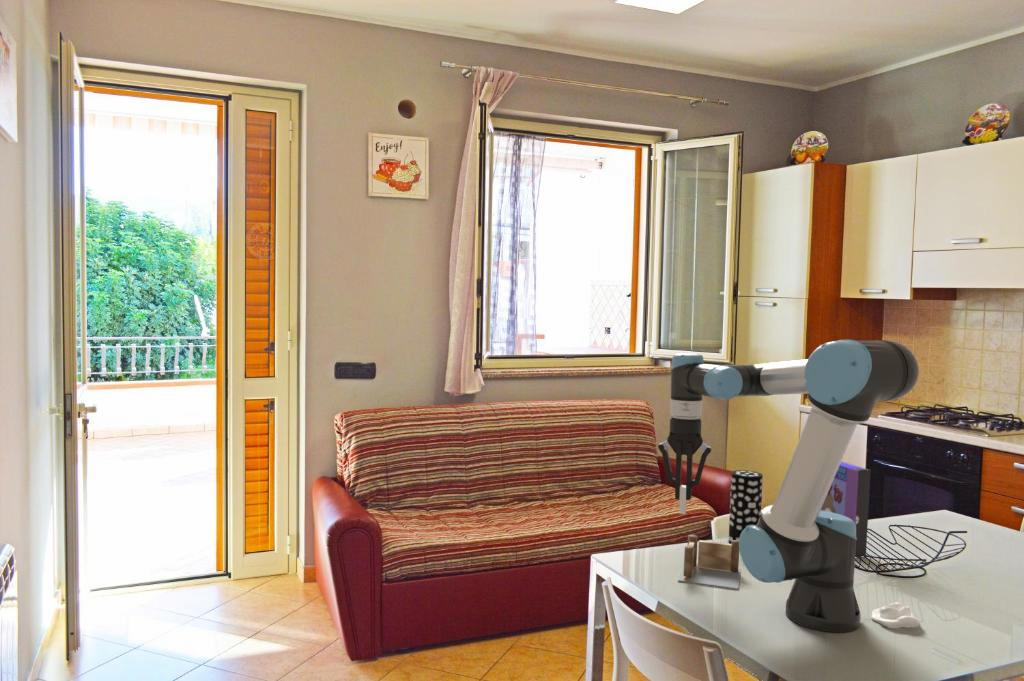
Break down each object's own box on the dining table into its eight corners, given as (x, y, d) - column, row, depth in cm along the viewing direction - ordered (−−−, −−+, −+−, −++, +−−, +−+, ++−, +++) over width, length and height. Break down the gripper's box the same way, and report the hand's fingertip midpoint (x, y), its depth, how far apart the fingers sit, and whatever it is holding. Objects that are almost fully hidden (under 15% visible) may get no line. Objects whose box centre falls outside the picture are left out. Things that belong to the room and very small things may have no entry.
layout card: (740, 570, 200) (740, 568, 200) (738, 590, 187) (738, 588, 187) (684, 563, 205) (684, 561, 205) (678, 581, 191) (678, 579, 191)
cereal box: (808, 538, 229) (813, 456, 228) (822, 537, 231) (826, 456, 229) (851, 558, 213) (856, 470, 211) (865, 557, 214) (870, 469, 213)
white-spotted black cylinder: (752, 550, 217) (756, 478, 215) (723, 544, 222) (727, 473, 220) (763, 543, 223) (767, 473, 222) (735, 537, 228) (738, 468, 227)
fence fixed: (738, 571, 200) (739, 540, 199) (738, 574, 197) (739, 543, 197) (687, 564, 204) (688, 534, 203) (686, 567, 201) (687, 536, 201)
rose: (914, 616, 164) (865, 603, 170) (913, 637, 164) (864, 623, 170) (926, 602, 172) (878, 590, 178) (925, 622, 172) (877, 610, 178)
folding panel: (687, 564, 201) (688, 537, 200) (695, 565, 200) (696, 538, 200) (683, 576, 192) (684, 548, 192) (691, 577, 192) (692, 549, 191)
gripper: (657, 417, 191) (654, 513, 192) (712, 420, 187) (709, 519, 188) (660, 413, 198) (657, 506, 199) (713, 416, 194) (710, 511, 196)
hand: (682, 512), depth 194 cm, fingers closed
